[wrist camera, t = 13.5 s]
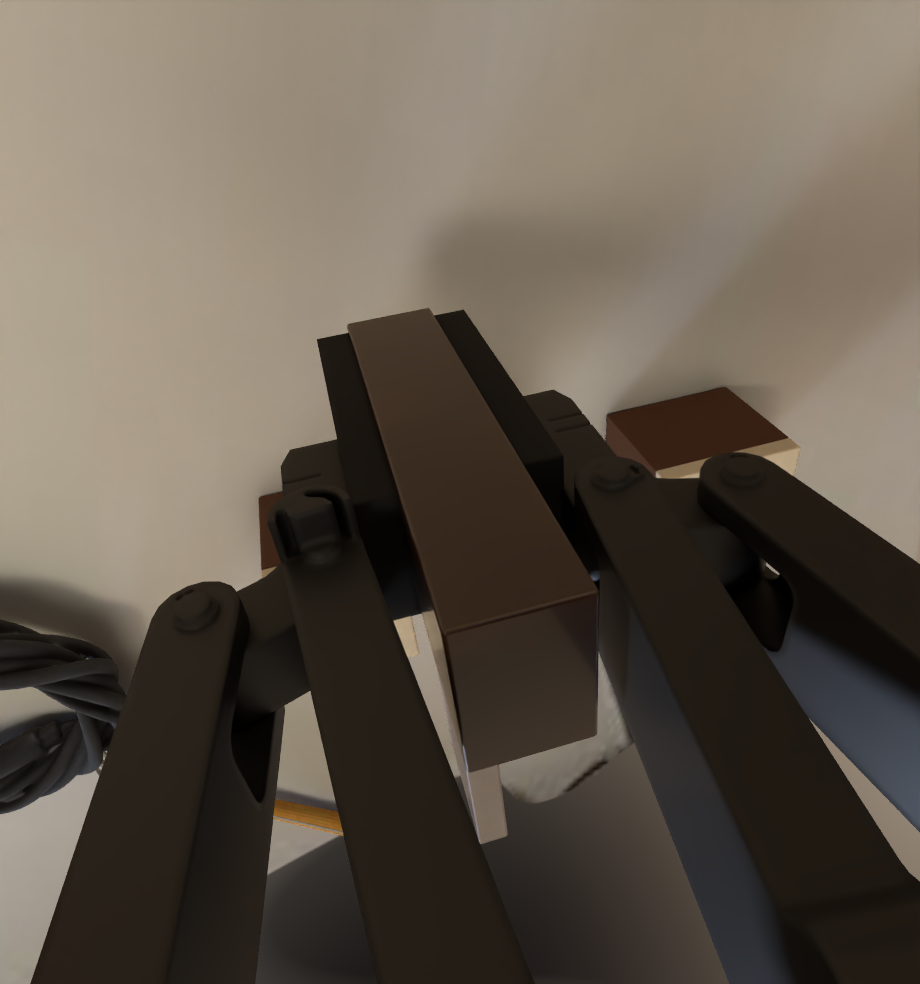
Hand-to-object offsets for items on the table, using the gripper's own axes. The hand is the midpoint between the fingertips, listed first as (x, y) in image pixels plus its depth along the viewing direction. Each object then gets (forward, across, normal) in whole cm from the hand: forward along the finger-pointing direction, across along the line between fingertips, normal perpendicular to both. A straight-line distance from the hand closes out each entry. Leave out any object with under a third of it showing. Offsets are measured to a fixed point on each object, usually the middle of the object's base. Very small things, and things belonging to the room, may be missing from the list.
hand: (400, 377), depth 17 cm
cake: (+10, +13, -12) cm, 20 cm away
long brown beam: (0, 0, -7) cm, 7 cm away
